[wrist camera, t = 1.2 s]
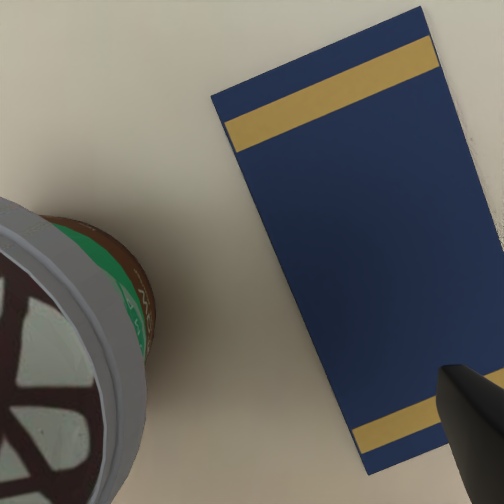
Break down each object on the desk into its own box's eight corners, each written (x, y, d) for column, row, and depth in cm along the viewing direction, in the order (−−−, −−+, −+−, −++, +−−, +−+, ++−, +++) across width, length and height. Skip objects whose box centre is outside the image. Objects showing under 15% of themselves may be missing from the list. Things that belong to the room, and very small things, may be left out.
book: (366, 472, 22) (368, 476, 22) (210, 97, 19) (210, 95, 19) (549, 398, 22) (554, 401, 22) (418, 8, 19) (421, 4, 19)
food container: (200, 415, 22) (170, 605, 12) (77, 435, 21) (-59, 643, 12) (155, 164, 20) (73, 137, 10) (20, 185, 20) (-197, 179, 10)
